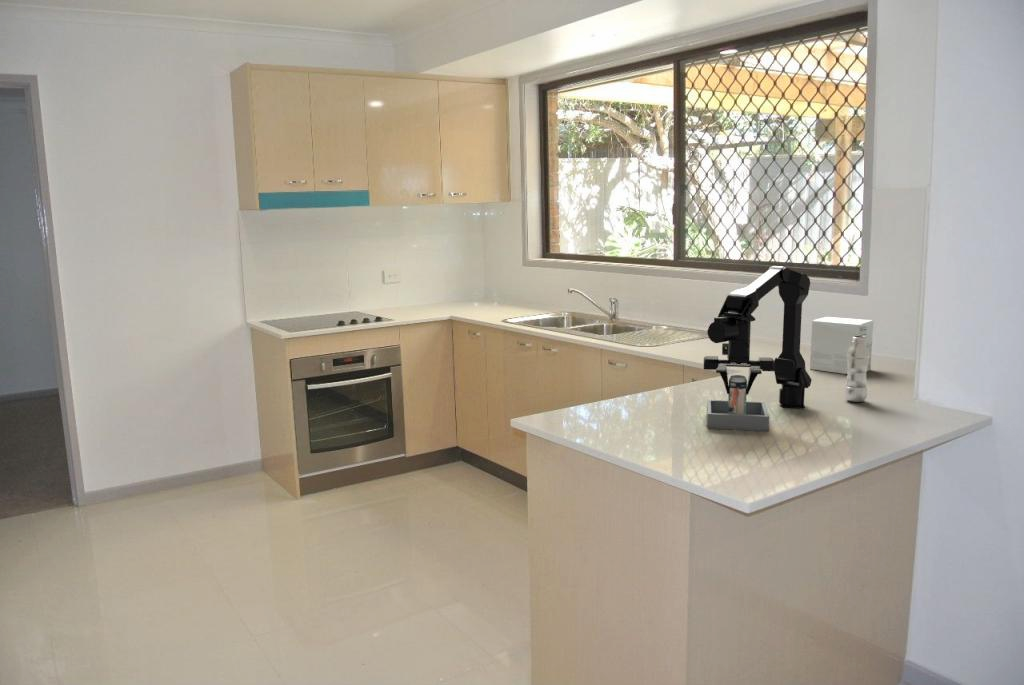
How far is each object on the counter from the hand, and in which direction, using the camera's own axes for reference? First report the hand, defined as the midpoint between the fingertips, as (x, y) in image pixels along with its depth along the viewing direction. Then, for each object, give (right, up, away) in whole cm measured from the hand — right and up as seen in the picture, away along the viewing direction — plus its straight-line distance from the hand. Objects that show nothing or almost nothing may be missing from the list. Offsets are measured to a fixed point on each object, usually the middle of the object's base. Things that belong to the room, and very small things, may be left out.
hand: (737, 394), depth 224 cm
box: (0, -8, +1) cm, 8 cm away
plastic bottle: (+42, -4, +21) cm, 47 cm away
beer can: (0, -7, +1) cm, 7 cm away
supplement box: (+55, +4, +66) cm, 86 cm away
